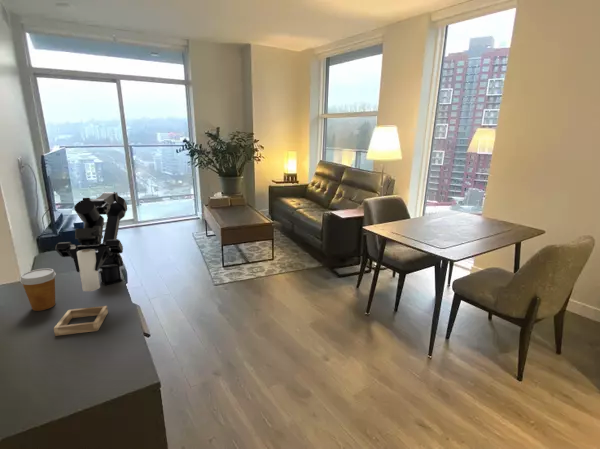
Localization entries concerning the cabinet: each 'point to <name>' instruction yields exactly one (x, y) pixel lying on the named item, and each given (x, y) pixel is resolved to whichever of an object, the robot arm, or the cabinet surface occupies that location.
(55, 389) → the cabinet surface
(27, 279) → the disposable coffee cup
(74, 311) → the oak holder
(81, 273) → the paper roll
